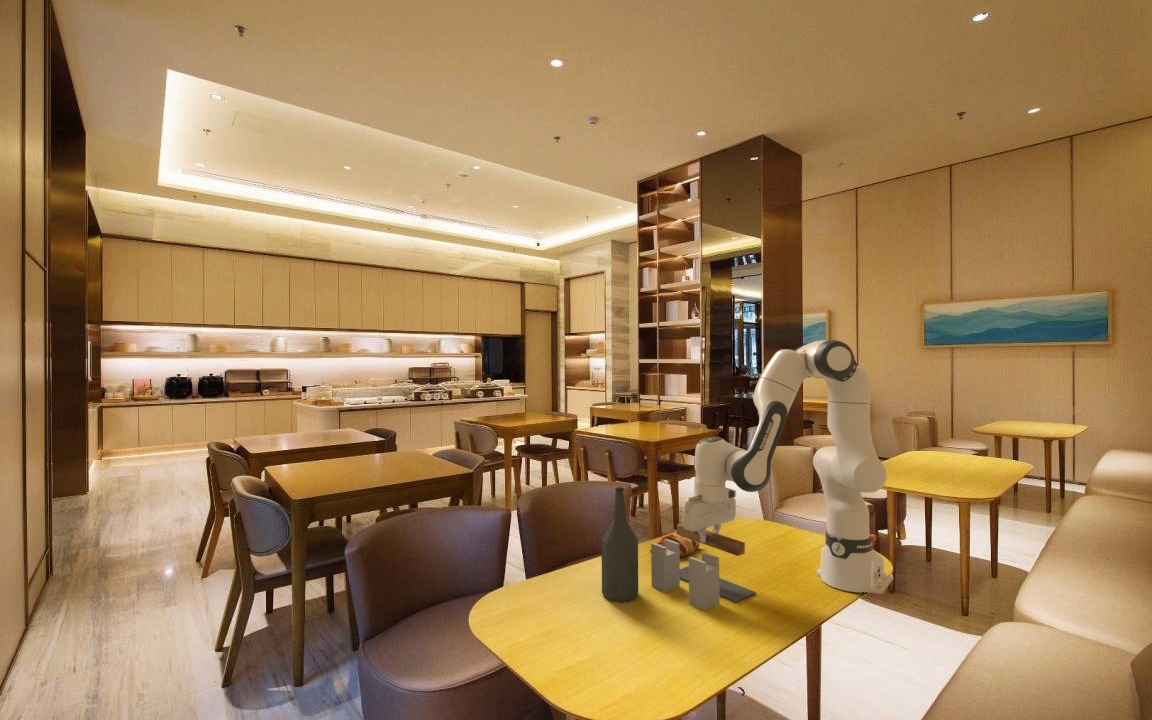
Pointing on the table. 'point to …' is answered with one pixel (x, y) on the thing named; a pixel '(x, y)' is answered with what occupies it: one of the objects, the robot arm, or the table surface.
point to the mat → (724, 588)
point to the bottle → (620, 556)
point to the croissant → (681, 544)
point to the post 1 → (665, 565)
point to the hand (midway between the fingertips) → (709, 540)
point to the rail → (715, 541)
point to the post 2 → (704, 581)
